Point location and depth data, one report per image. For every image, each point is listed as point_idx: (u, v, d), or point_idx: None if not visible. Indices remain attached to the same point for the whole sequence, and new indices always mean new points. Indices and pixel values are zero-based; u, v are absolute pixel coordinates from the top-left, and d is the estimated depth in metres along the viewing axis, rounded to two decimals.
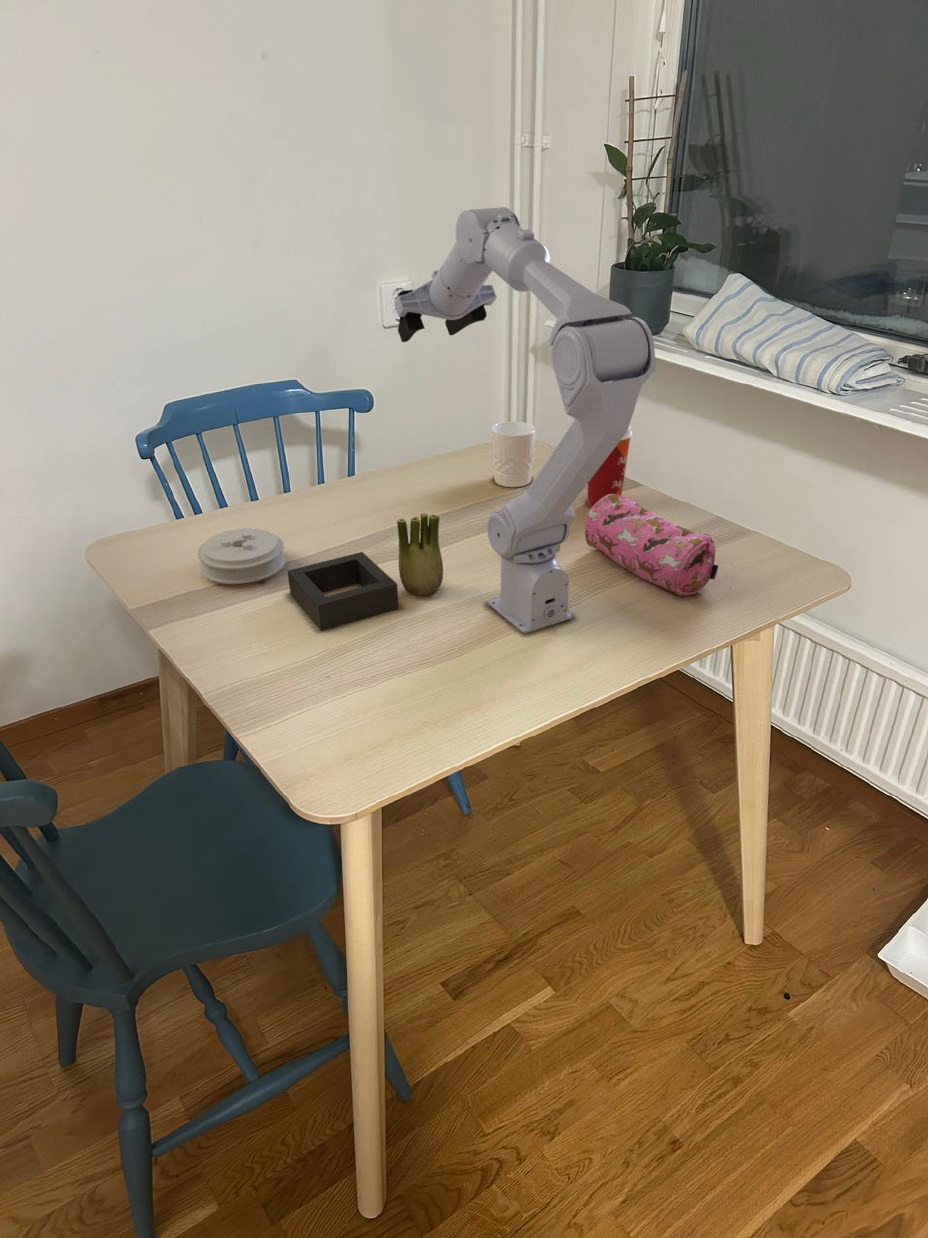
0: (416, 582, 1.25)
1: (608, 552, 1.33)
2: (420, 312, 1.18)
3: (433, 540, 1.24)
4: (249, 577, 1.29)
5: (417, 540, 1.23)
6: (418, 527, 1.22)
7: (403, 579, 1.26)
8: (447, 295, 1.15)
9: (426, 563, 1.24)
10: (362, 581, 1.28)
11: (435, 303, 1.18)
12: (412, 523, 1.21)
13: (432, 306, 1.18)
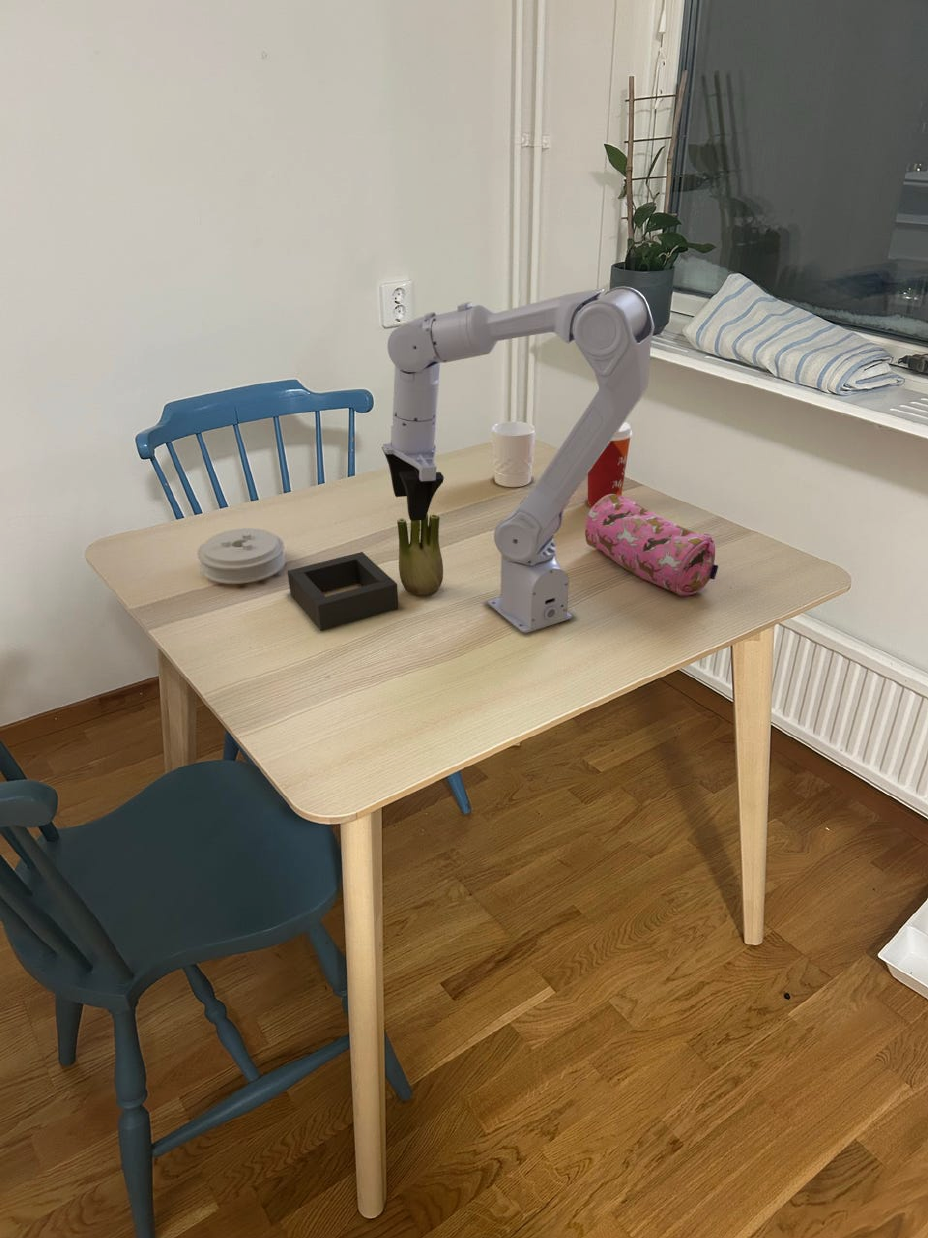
0: (416, 582, 1.25)
1: (608, 552, 1.33)
2: None
3: (434, 540, 1.24)
4: (249, 577, 1.29)
5: (417, 540, 1.23)
6: (418, 527, 1.22)
7: (403, 579, 1.26)
8: (431, 426, 1.16)
9: (426, 563, 1.24)
10: (362, 581, 1.28)
11: (426, 448, 1.17)
12: (412, 523, 1.21)
13: (426, 454, 1.17)
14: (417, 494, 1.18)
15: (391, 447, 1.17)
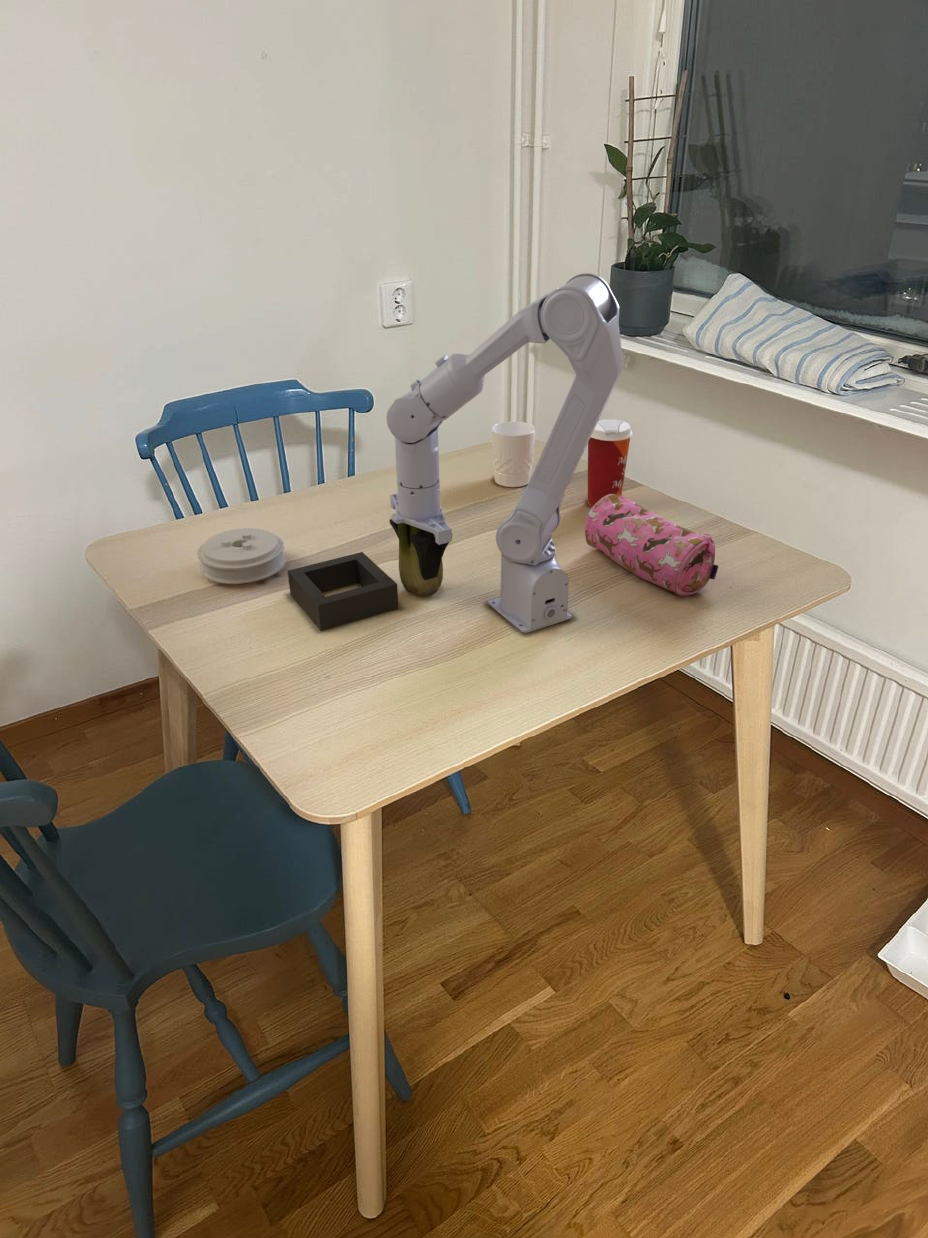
0: (416, 582, 1.25)
1: (608, 552, 1.33)
2: None
3: None
4: (249, 577, 1.29)
5: None
6: None
7: (403, 579, 1.26)
8: (437, 491, 1.19)
9: None
10: (362, 581, 1.28)
11: (435, 512, 1.20)
12: None
13: (435, 517, 1.20)
14: (428, 554, 1.22)
15: (400, 516, 1.20)
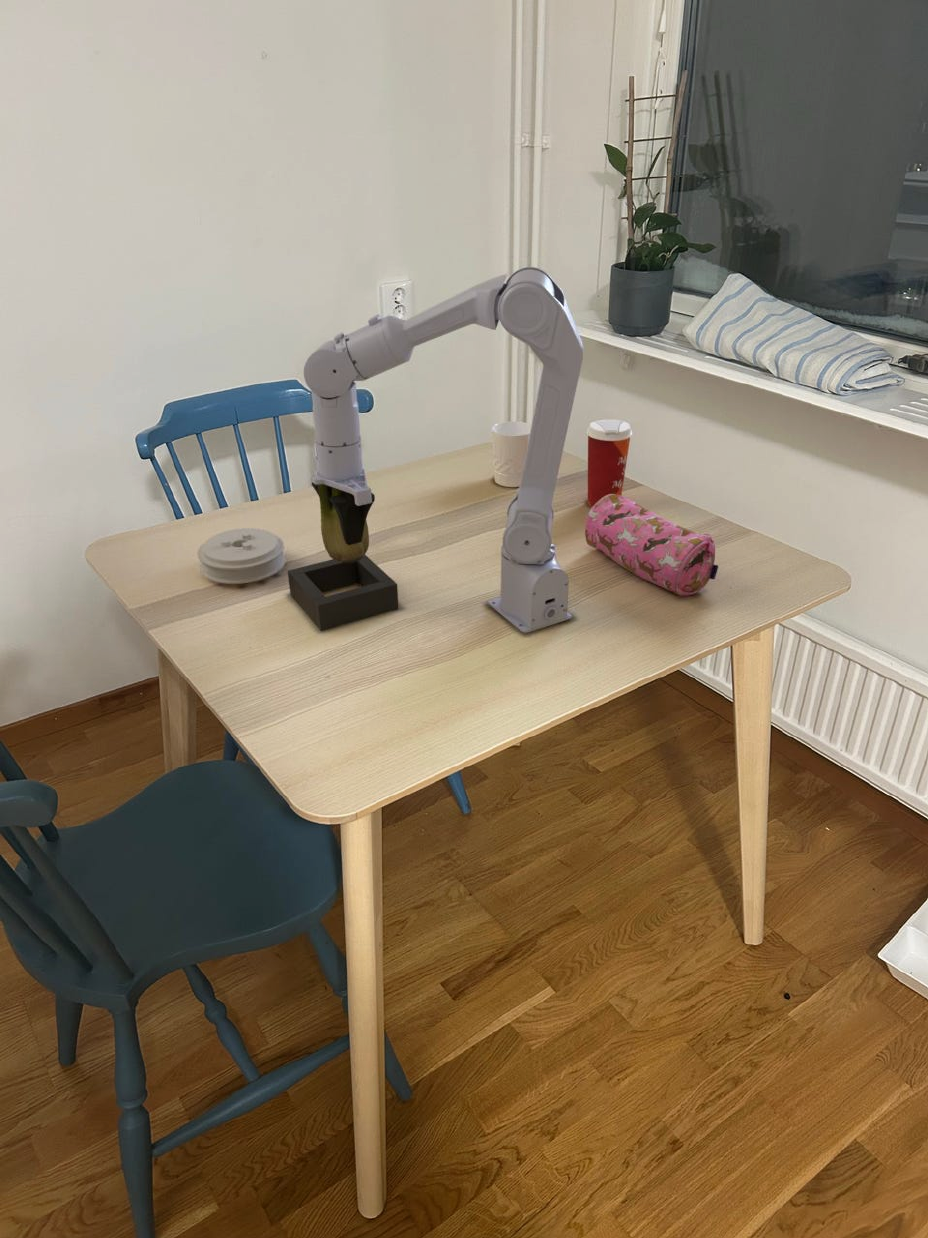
0: (340, 547, 1.19)
1: (608, 552, 1.33)
2: None
3: None
4: (249, 577, 1.29)
5: None
6: None
7: (326, 544, 1.20)
8: (358, 450, 1.13)
9: None
10: (362, 581, 1.28)
11: (356, 472, 1.14)
12: None
13: (357, 478, 1.14)
14: (350, 517, 1.16)
15: (320, 477, 1.14)
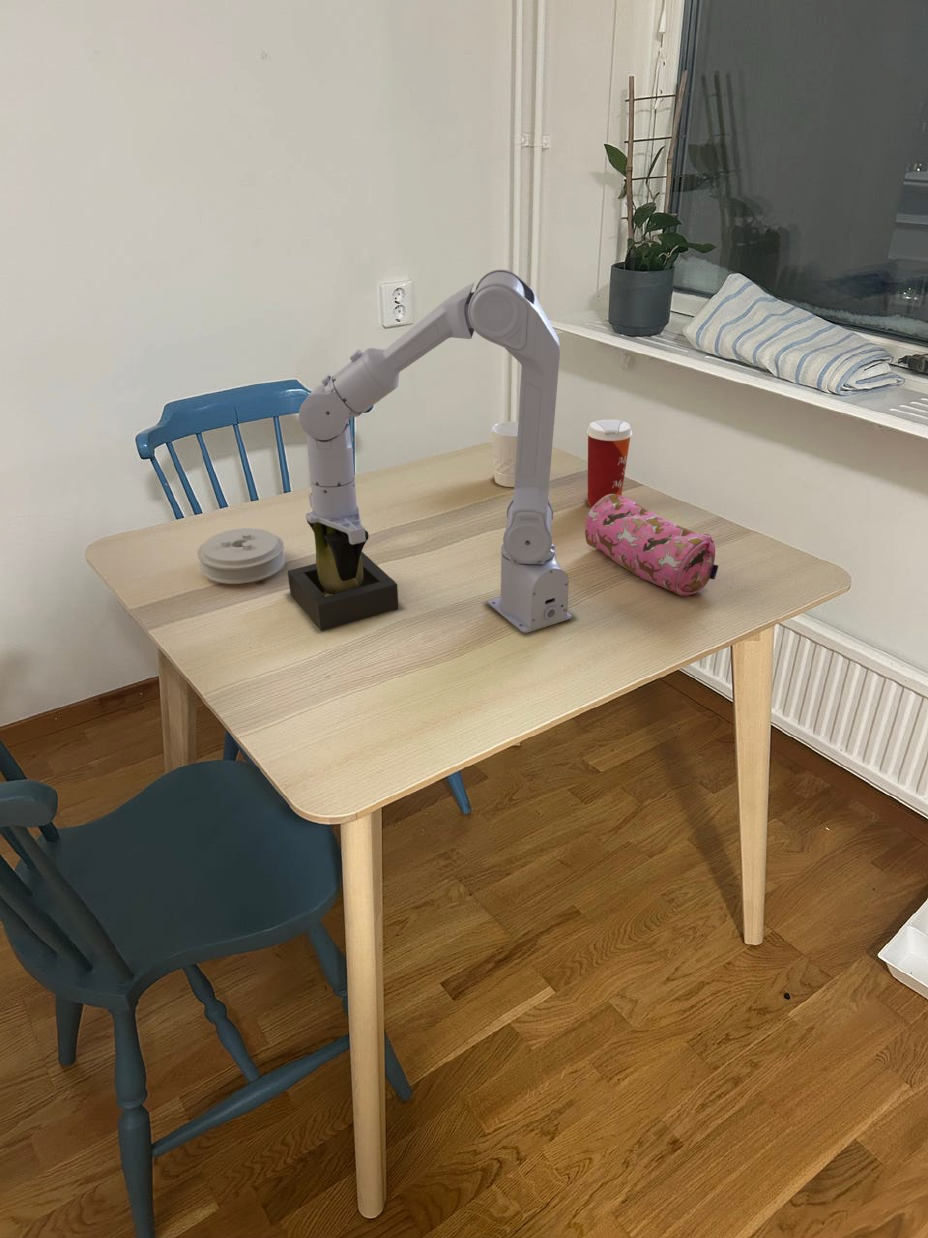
0: (334, 583, 1.21)
1: (608, 552, 1.33)
2: (360, 522, 1.16)
3: None
4: (249, 577, 1.29)
5: None
6: None
7: (321, 580, 1.22)
8: (352, 489, 1.16)
9: None
10: None
11: (350, 511, 1.17)
12: None
13: (351, 517, 1.17)
14: (345, 554, 1.19)
15: (314, 515, 1.17)
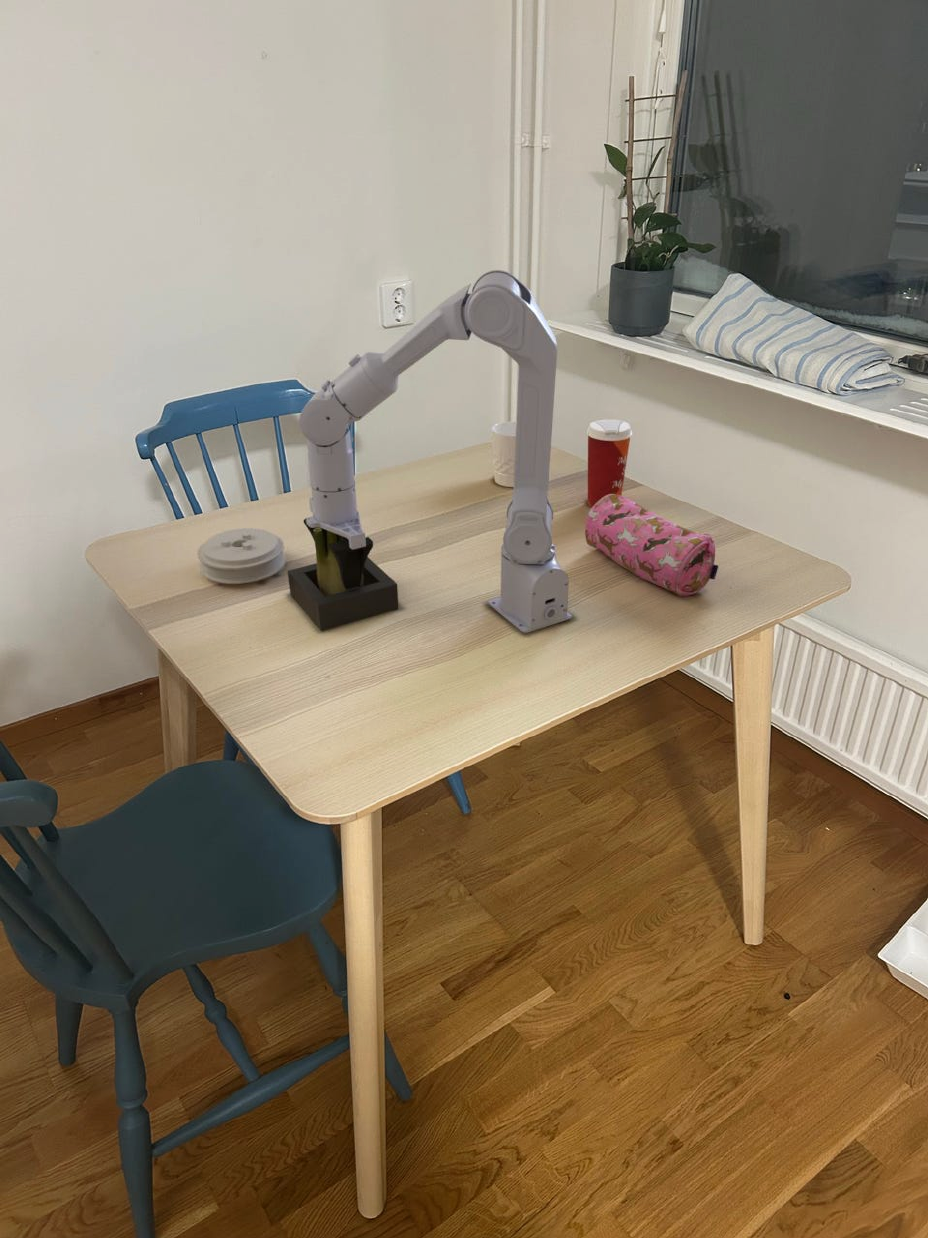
0: (335, 592, 1.22)
1: (608, 552, 1.33)
2: None
3: None
4: (249, 577, 1.29)
5: None
6: (335, 536, 1.19)
7: (322, 589, 1.23)
8: (352, 494, 1.16)
9: None
10: None
11: (350, 516, 1.17)
12: (328, 532, 1.19)
13: (351, 521, 1.17)
14: (349, 562, 1.18)
15: (315, 520, 1.17)
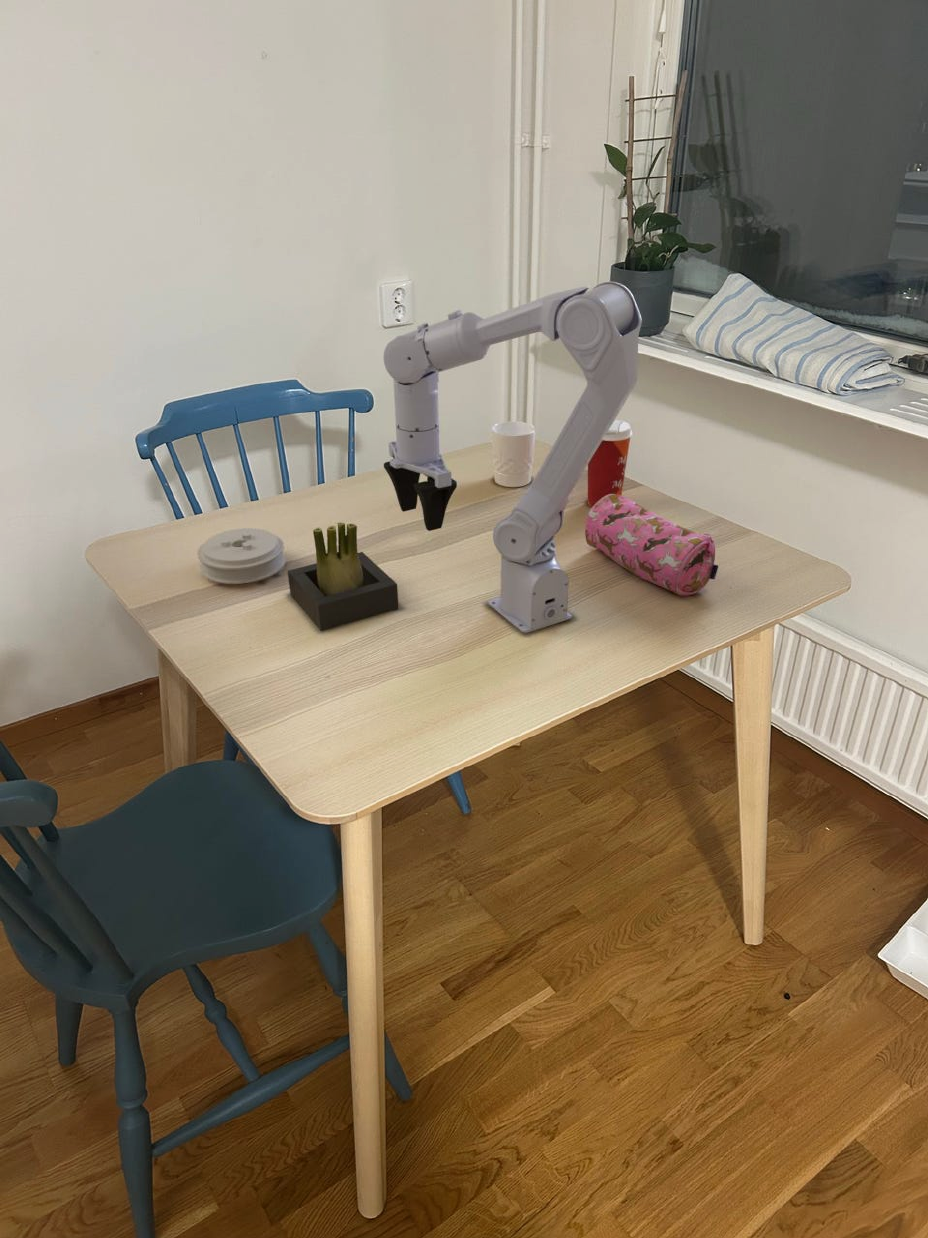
0: (335, 592, 1.22)
1: (608, 552, 1.33)
2: None
3: (352, 550, 1.21)
4: (249, 577, 1.29)
5: (334, 550, 1.20)
6: (335, 536, 1.19)
7: (322, 589, 1.23)
8: (437, 434, 1.17)
9: (344, 573, 1.22)
10: None
11: (434, 456, 1.18)
12: (328, 532, 1.19)
13: (435, 462, 1.19)
14: (432, 503, 1.19)
15: (399, 461, 1.19)
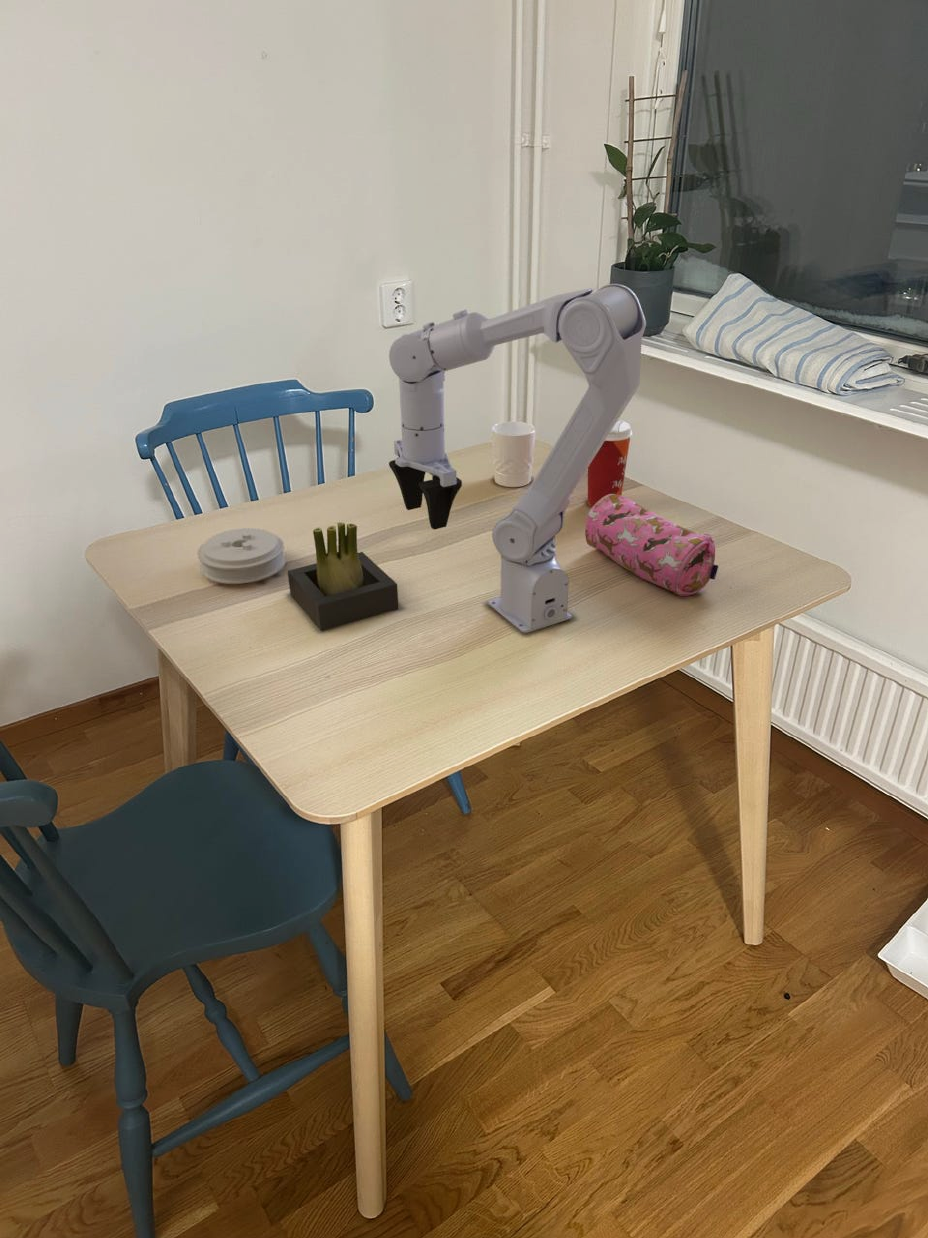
0: (335, 592, 1.22)
1: (608, 552, 1.33)
2: None
3: (352, 550, 1.21)
4: (249, 577, 1.29)
5: (334, 550, 1.20)
6: (335, 536, 1.19)
7: (322, 589, 1.23)
8: (442, 433, 1.18)
9: (344, 573, 1.22)
10: None
11: (439, 455, 1.19)
12: (328, 532, 1.19)
13: (440, 461, 1.19)
14: (437, 502, 1.20)
15: (404, 460, 1.19)
